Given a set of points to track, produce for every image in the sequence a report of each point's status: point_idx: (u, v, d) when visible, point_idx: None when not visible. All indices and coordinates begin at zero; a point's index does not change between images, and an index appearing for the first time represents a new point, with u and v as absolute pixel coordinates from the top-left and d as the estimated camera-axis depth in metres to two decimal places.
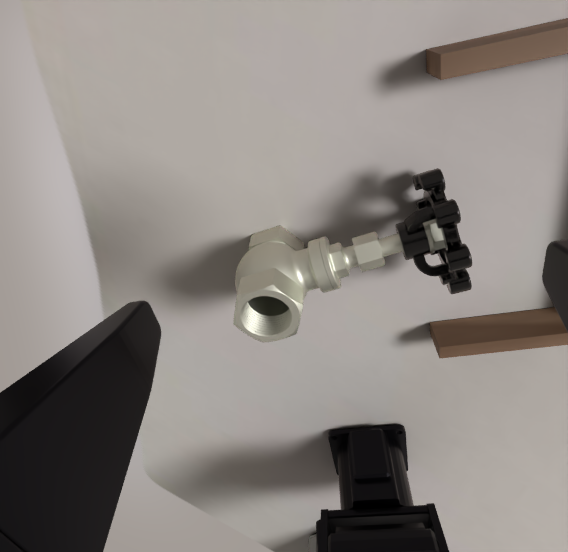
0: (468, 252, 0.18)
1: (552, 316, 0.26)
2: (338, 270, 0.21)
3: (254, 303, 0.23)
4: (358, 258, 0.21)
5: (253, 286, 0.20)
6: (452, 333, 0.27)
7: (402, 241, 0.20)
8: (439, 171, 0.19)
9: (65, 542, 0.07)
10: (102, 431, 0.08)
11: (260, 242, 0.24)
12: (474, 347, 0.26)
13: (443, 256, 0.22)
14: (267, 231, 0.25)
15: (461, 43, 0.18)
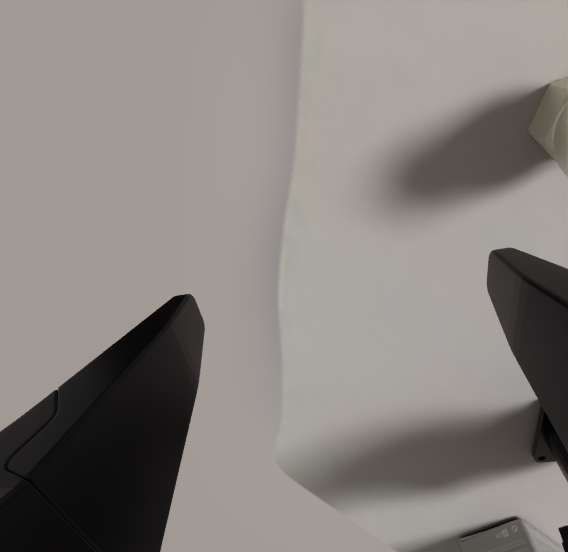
0: None
1: None
2: None
3: None
4: None
5: None
6: None
7: None
8: None
9: (129, 539, 0.06)
10: (158, 426, 0.07)
11: None
12: None
13: None
14: None
15: None
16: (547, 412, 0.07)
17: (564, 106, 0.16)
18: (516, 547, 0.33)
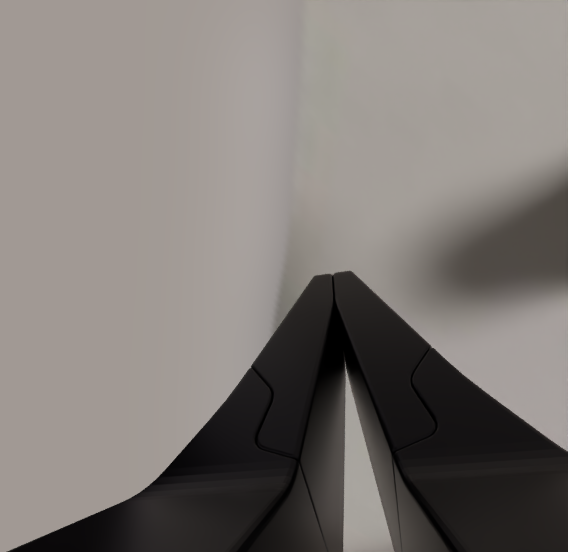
0: None
1: None
2: None
3: None
4: None
5: None
6: None
7: None
8: None
9: (333, 529, 0.06)
10: (336, 409, 0.07)
11: None
12: None
13: None
14: None
15: None
16: None
17: None
18: None
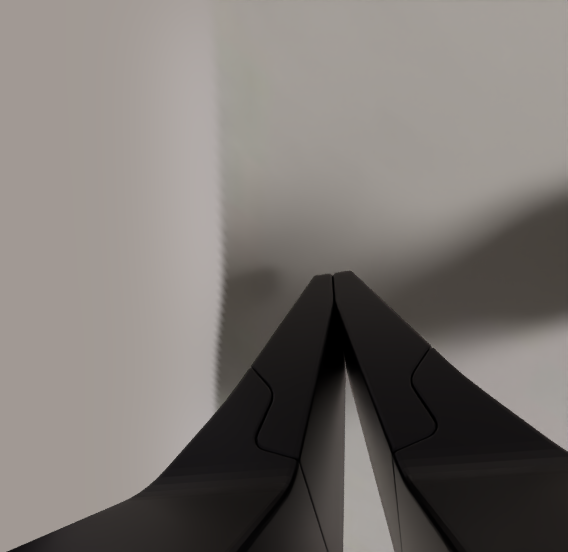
0: None
1: None
2: None
3: None
4: None
5: None
6: None
7: None
8: None
9: (333, 529, 0.06)
10: (336, 409, 0.07)
11: None
12: None
13: None
14: None
15: None
16: None
17: None
18: None
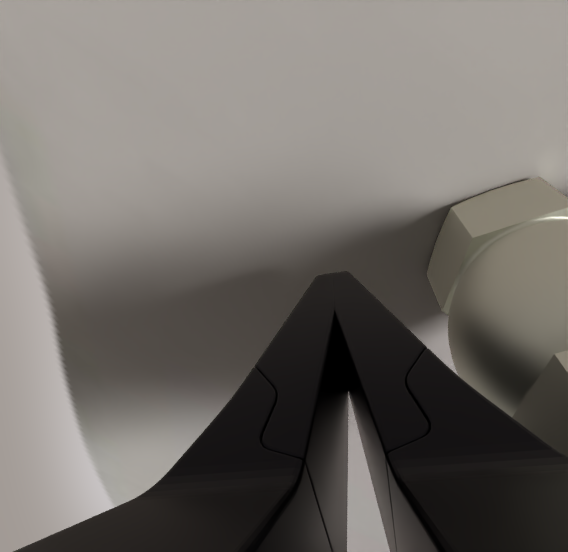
0: None
1: None
2: None
3: None
4: None
5: None
6: None
7: None
8: None
9: (337, 529, 0.06)
10: (340, 409, 0.07)
11: (510, 223, 0.08)
12: None
13: None
14: (505, 195, 0.09)
15: None
16: (358, 428, 0.08)
17: (467, 263, 0.08)
18: None
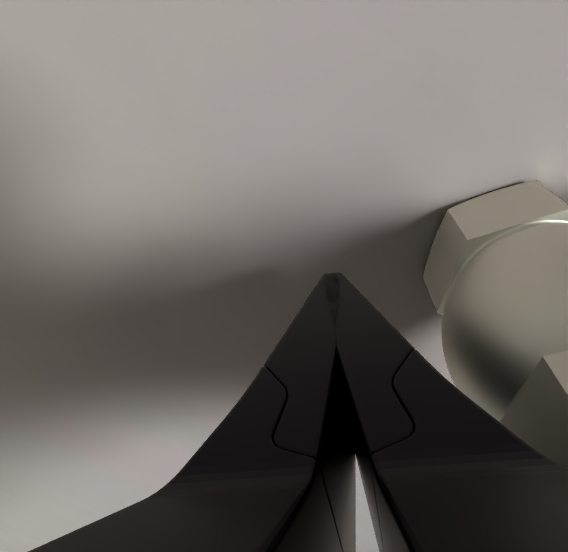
0: None
1: None
2: None
3: None
4: None
5: None
6: None
7: None
8: None
9: (346, 528, 0.06)
10: (348, 408, 0.07)
11: (505, 226, 0.08)
12: None
13: None
14: (501, 197, 0.09)
15: None
16: None
17: (462, 265, 0.09)
18: None
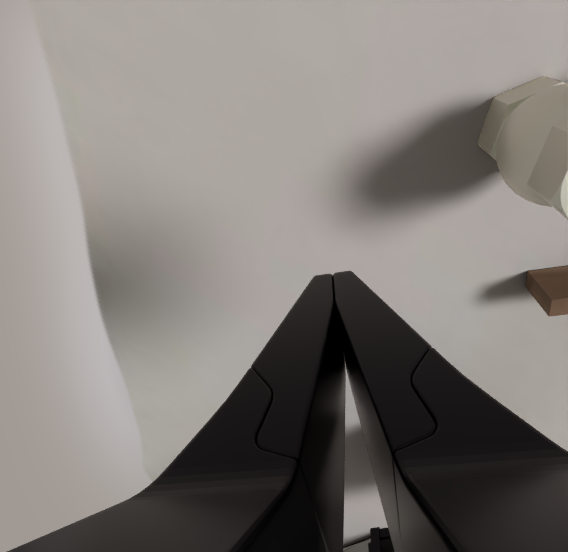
0: None
1: None
2: None
3: None
4: None
5: None
6: (565, 282, 0.20)
7: None
8: None
9: (333, 529, 0.06)
10: (336, 409, 0.07)
11: (528, 95, 0.15)
12: None
13: None
14: (525, 86, 0.16)
15: None
16: None
17: (505, 121, 0.16)
18: None
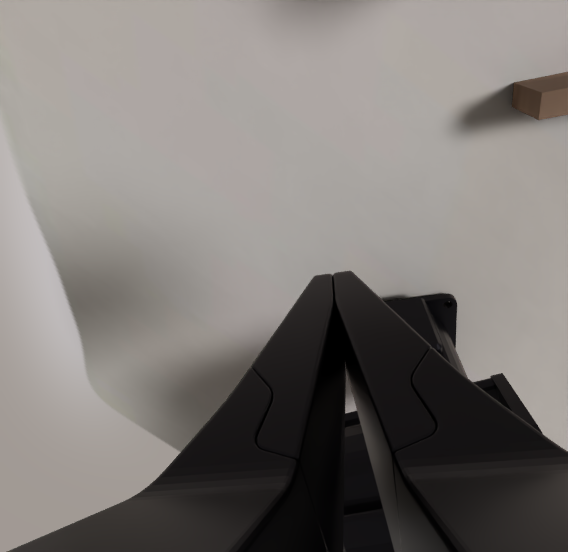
0: None
1: None
2: None
3: None
4: None
5: None
6: (558, 81, 0.16)
7: None
8: None
9: (333, 529, 0.06)
10: (336, 409, 0.07)
11: None
12: None
13: None
14: None
15: None
16: (361, 428, 0.08)
17: None
18: None
